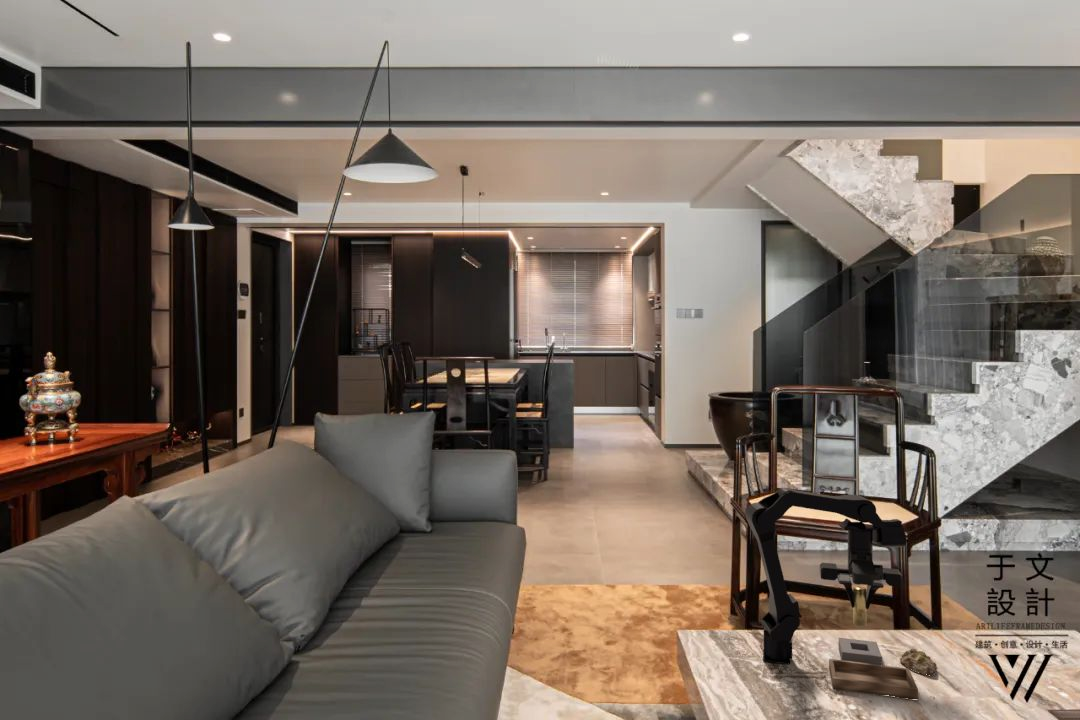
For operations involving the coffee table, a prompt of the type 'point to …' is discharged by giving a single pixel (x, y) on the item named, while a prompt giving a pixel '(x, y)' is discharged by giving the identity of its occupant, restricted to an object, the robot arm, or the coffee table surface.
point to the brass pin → (859, 606)
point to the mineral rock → (918, 662)
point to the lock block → (859, 651)
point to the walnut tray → (872, 679)
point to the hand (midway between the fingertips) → (859, 607)
